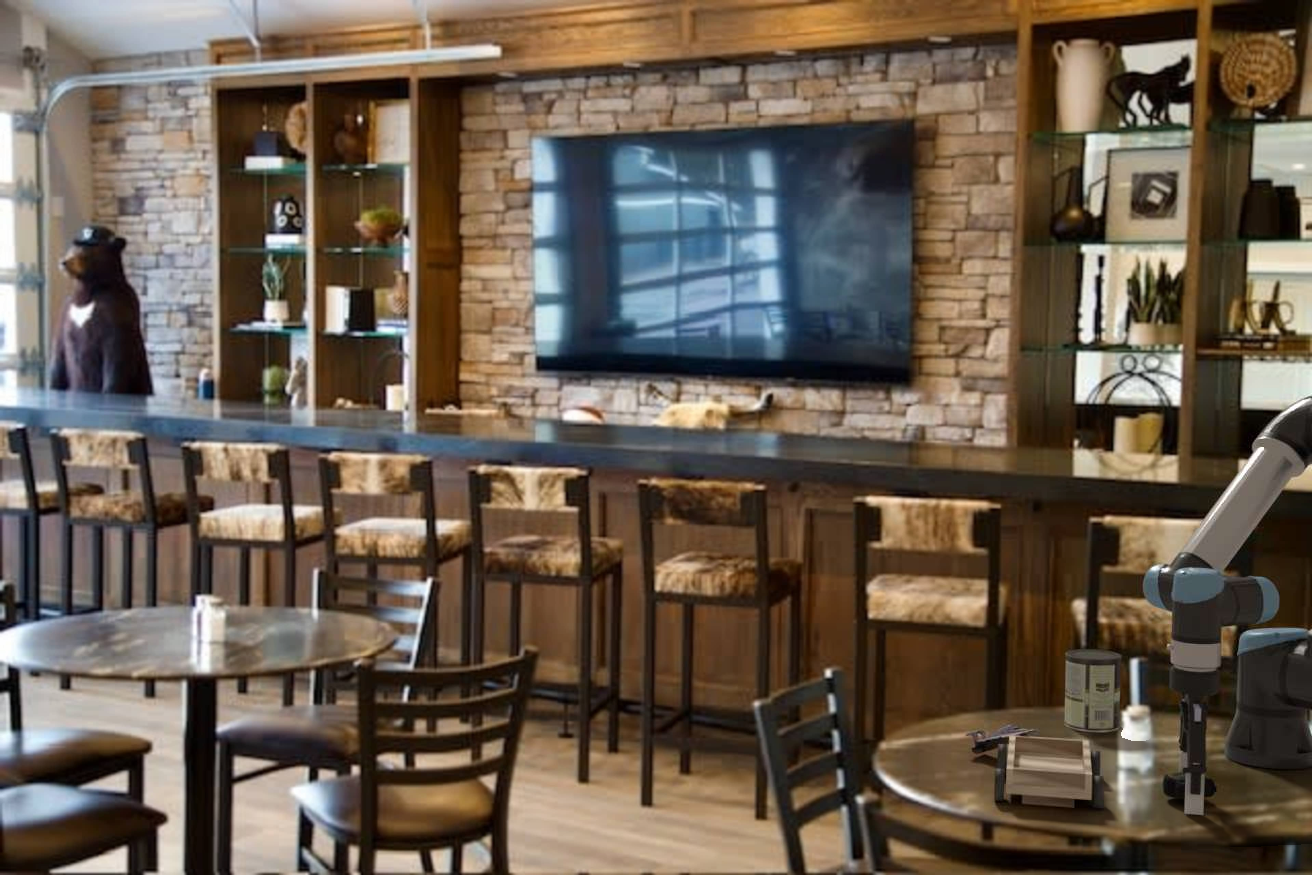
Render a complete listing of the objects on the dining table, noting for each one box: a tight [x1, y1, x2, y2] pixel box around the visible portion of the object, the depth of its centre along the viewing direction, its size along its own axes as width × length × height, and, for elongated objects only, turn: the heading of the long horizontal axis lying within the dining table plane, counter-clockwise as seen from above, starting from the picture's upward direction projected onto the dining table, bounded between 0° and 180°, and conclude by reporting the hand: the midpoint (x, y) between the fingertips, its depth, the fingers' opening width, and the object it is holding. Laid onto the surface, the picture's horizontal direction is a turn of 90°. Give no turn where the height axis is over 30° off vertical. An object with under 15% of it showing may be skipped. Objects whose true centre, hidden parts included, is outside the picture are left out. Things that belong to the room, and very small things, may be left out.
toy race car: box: [965, 724, 1039, 755], centre depth 282 cm, size 13×6×4 cm, turn 42°
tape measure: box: [1162, 771, 1218, 800], centre depth 259 cm, size 7×7×4 cm
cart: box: [993, 735, 1105, 810], centre depth 264 cm, size 22×17×6 cm
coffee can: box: [1064, 648, 1123, 733], centre depth 307 cm, size 10×10×14 cm
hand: (1190, 802), depth 257 cm, fingers open, 11 cm apart
